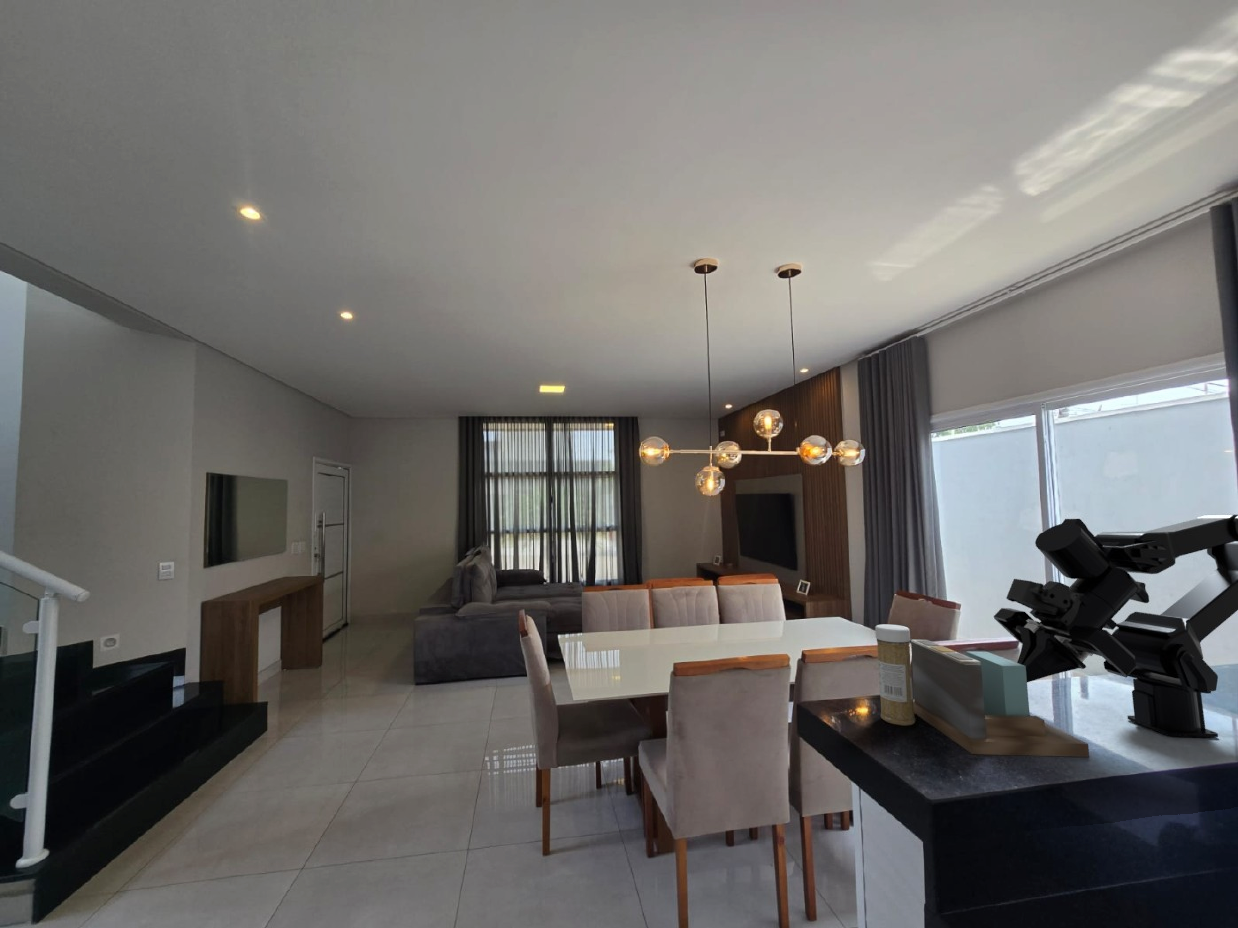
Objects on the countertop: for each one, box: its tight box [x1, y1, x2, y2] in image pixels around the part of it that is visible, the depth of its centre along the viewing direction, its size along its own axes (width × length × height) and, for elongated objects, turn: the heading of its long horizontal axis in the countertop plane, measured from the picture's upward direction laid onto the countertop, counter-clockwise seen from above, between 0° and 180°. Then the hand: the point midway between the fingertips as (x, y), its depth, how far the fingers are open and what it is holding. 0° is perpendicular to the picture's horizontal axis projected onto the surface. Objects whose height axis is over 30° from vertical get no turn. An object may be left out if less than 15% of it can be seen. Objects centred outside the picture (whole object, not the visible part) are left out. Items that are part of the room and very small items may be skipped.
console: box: [910, 639, 1090, 758], centre depth 74 cm, size 14×16×11 cm
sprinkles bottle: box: [874, 623, 916, 727], centre depth 77 cm, size 5×5×13 cm
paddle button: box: [965, 650, 1031, 716], centre depth 73 cm, size 3×8×8 cm, turn 177°
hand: (1016, 680), depth 73 cm, fingers closed
